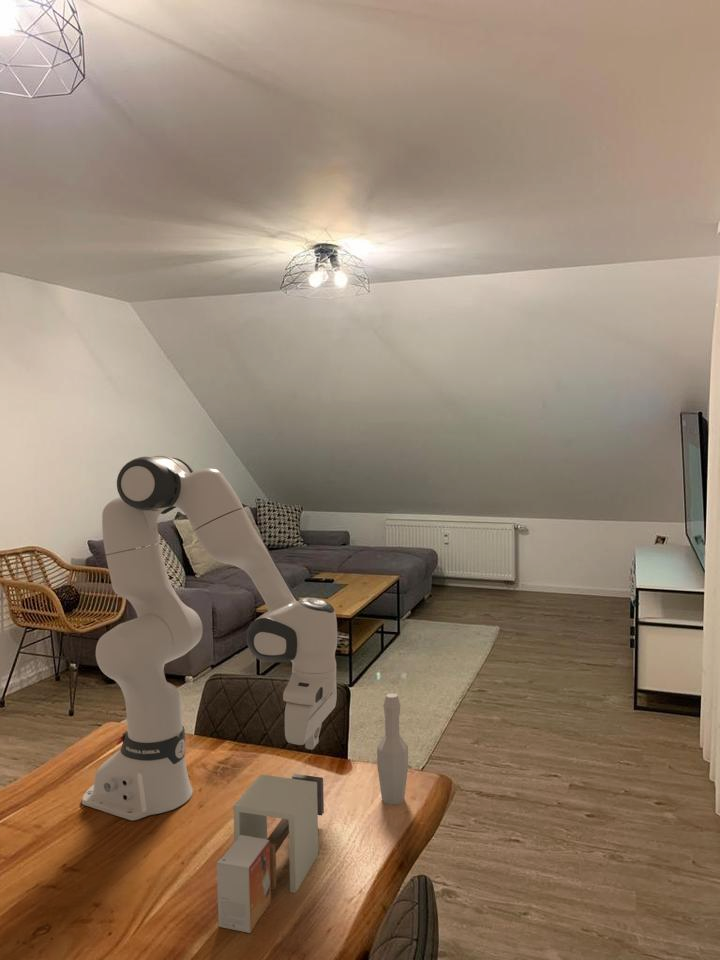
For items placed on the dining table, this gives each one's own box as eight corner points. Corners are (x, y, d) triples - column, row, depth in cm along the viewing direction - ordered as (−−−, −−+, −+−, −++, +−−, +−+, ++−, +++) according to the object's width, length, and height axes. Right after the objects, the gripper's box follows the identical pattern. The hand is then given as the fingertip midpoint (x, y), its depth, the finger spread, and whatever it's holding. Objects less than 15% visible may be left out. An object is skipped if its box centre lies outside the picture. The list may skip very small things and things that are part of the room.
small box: (250, 935, 106) (248, 868, 105) (217, 927, 108) (215, 862, 107) (272, 901, 114) (270, 838, 113) (241, 894, 115) (239, 833, 115)
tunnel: (235, 881, 119) (233, 805, 118) (262, 845, 129) (260, 774, 128) (295, 893, 115) (294, 814, 115) (318, 854, 126) (317, 782, 125)
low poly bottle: (377, 791, 148) (376, 689, 146) (407, 791, 148) (406, 689, 146) (377, 807, 142) (376, 701, 140) (409, 807, 141) (407, 701, 140)
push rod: (241, 883, 115) (240, 842, 115) (295, 808, 138) (294, 773, 137) (275, 889, 113) (274, 847, 113) (323, 812, 136) (323, 777, 136)
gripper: (317, 660, 151) (315, 722, 152) (279, 696, 131) (277, 766, 132) (344, 664, 149) (342, 727, 150) (310, 701, 129) (308, 772, 131)
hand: (311, 746), depth 141 cm, fingers closed
